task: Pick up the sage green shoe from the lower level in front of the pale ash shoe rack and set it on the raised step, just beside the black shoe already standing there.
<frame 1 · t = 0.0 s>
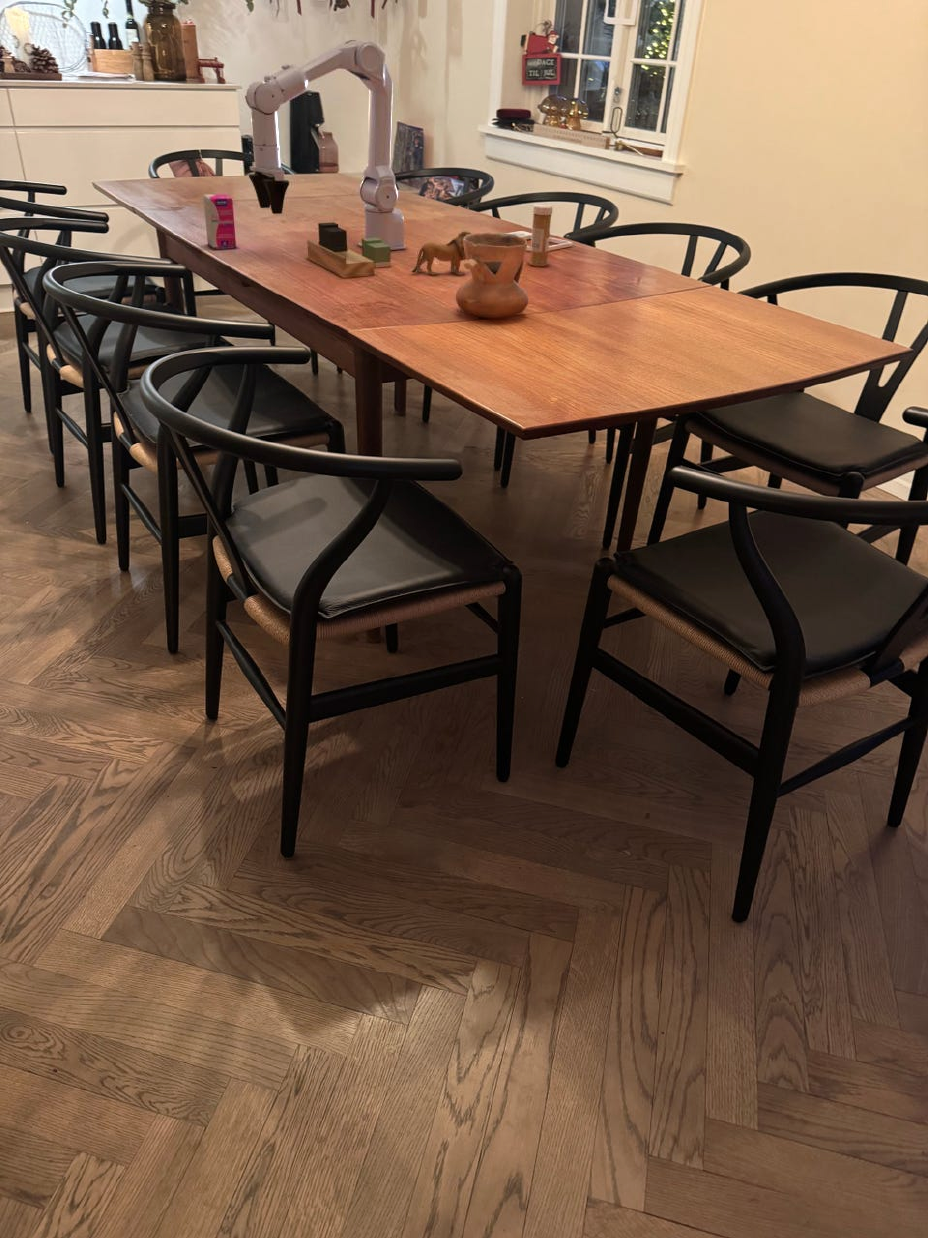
hand: (271, 210, 205), 10 cm above the table, tool pointing down, fingers open, 7 cm apart
black shoe: (333, 248, 207), point 3 cm above the table, touching shoe rack
supplement box: (222, 247, 217), on the table
green shoe: (376, 263, 209), on the table
photo frame: (529, 243, 235), on the table
shoe rack: (340, 266, 205), on the table
ceramic jug: (492, 314, 178), on the table
sprinkles bottle: (538, 265, 216), on the table
lion figurine: (444, 273, 205), on the table
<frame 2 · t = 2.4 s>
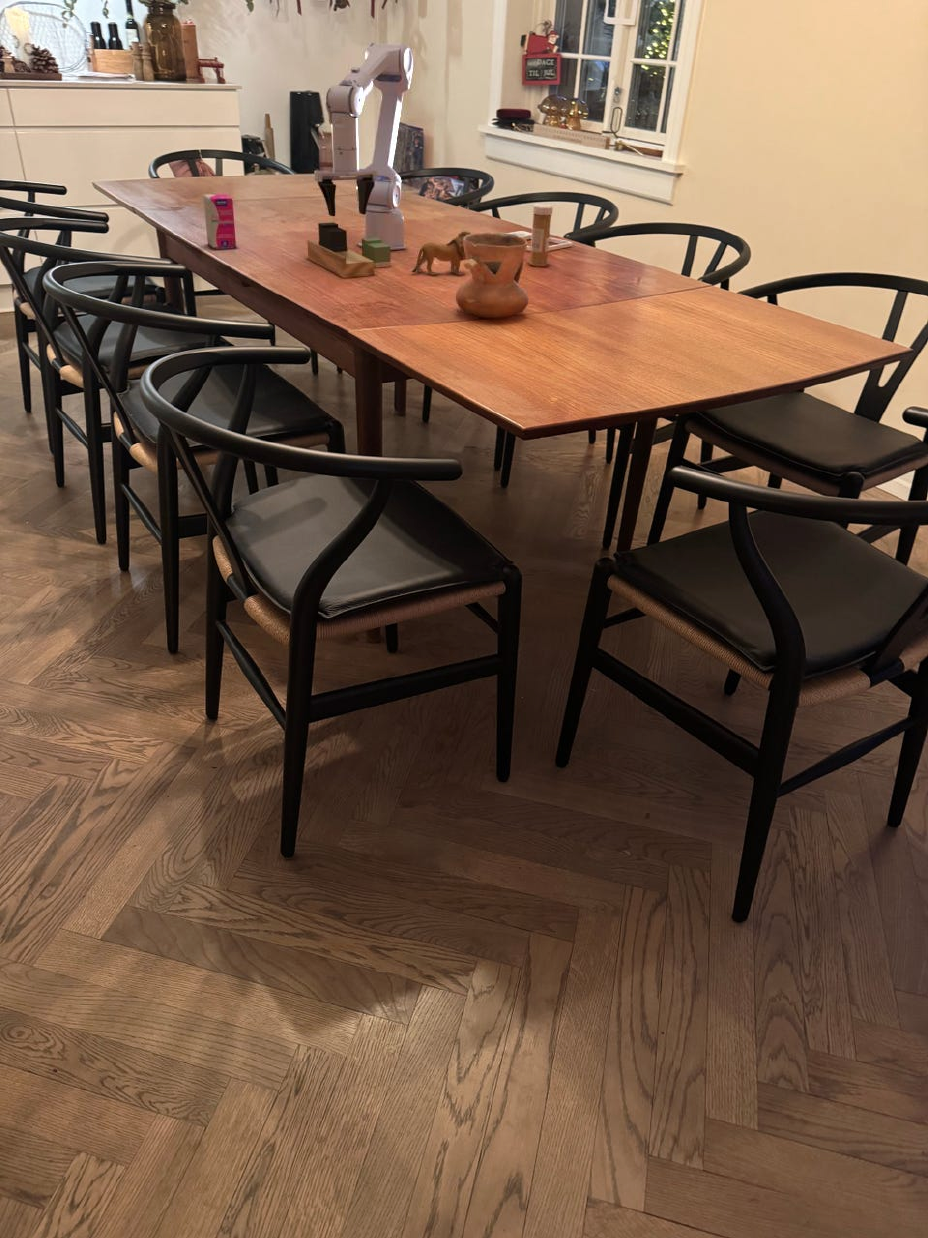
hand: (347, 214, 204), 10 cm above the table, tool pointing down, fingers open, 7 cm apart
nothing on the table moved.
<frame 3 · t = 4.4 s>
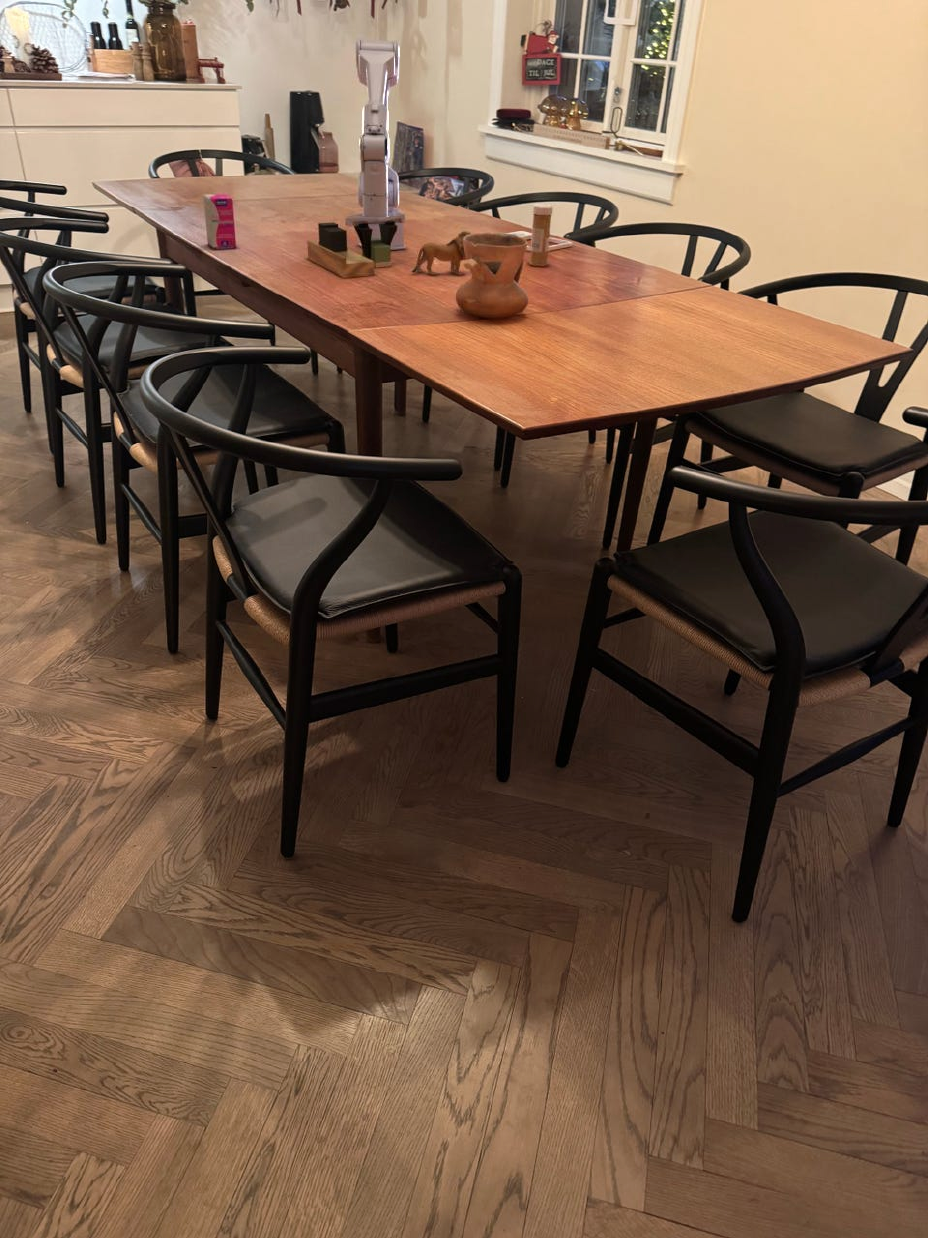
hand: (376, 257, 209), 1 cm above the table, tool pointing down, fingers closed on green shoe, 4 cm apart
green shoe: (376, 263, 209), on the table, touching gripper
everything else where it was.
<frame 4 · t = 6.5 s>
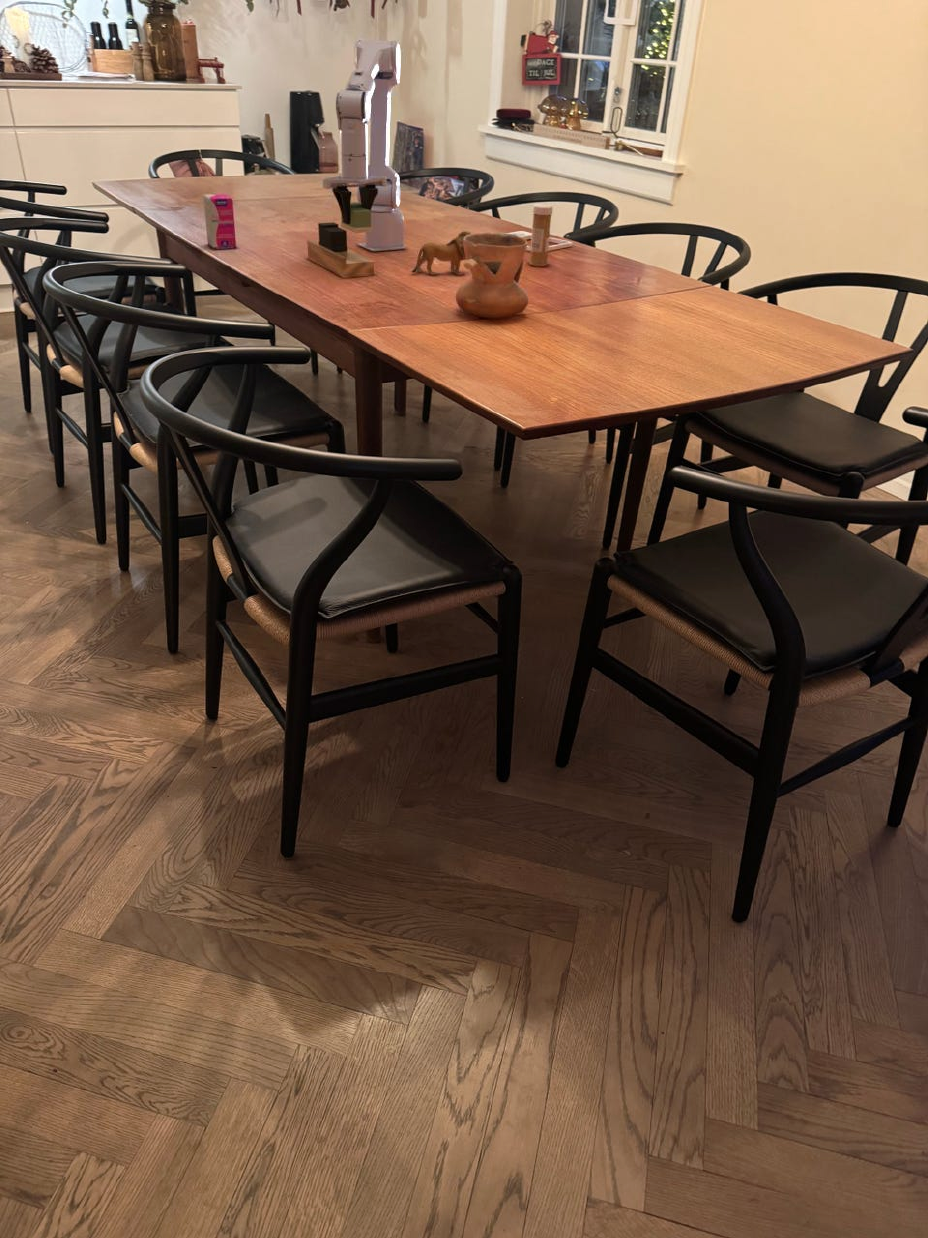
hand: (355, 222, 198), 10 cm above the table, tool pointing down, fingers closed on green shoe, 4 cm apart
green shoe: (356, 229, 199), point 9 cm above the table, touching gripper
everything else where it was.
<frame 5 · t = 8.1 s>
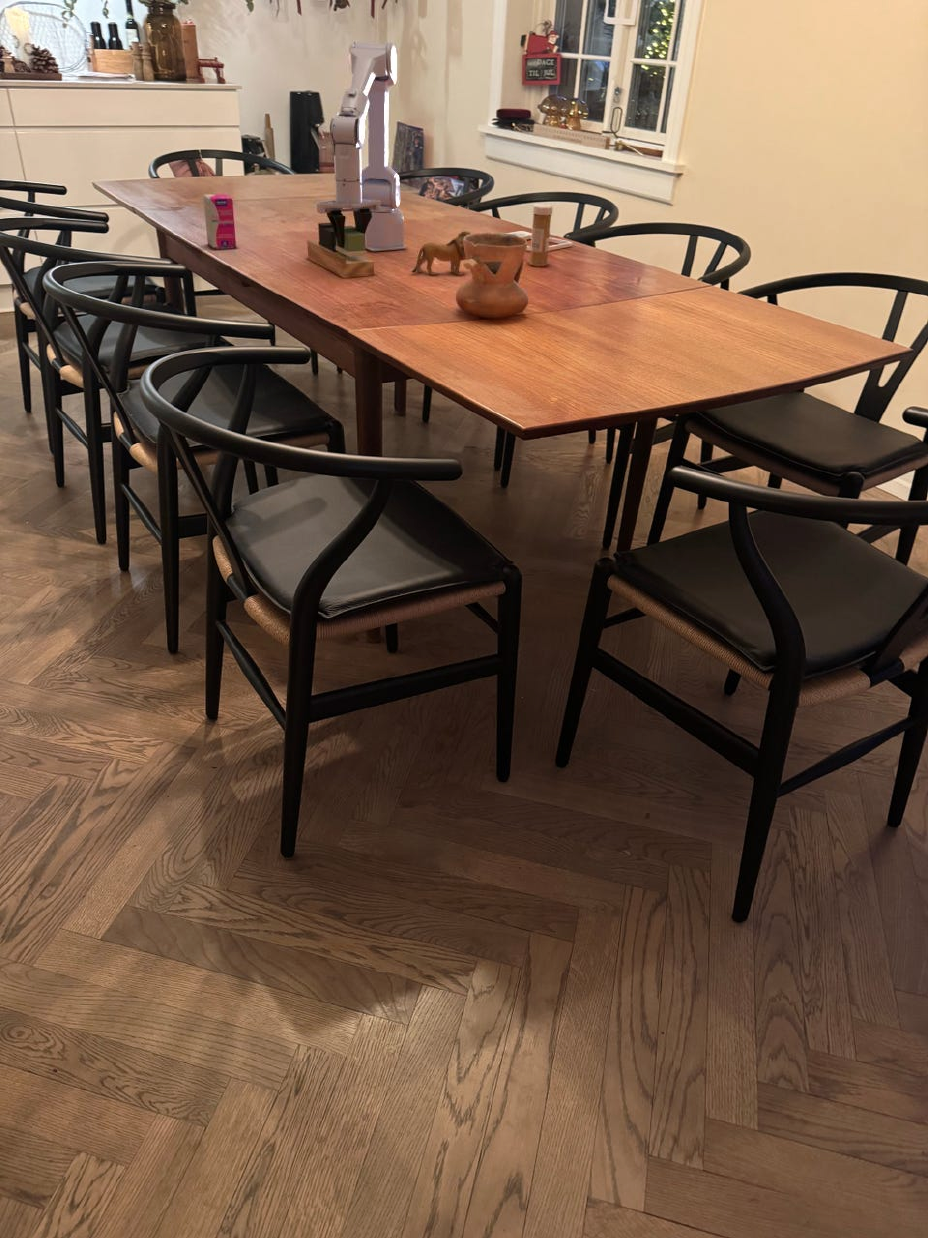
hand: (350, 246, 199), 5 cm above the table, tool pointing down, fingers closed on green shoe, 4 cm apart
green shoe: (350, 252, 200), point 4 cm above the table, touching gripper
everything else where it was.
when the fingers open (4 cm above the table, at t = 8.8 s): green shoe stays where it is, resting on shoe rack.
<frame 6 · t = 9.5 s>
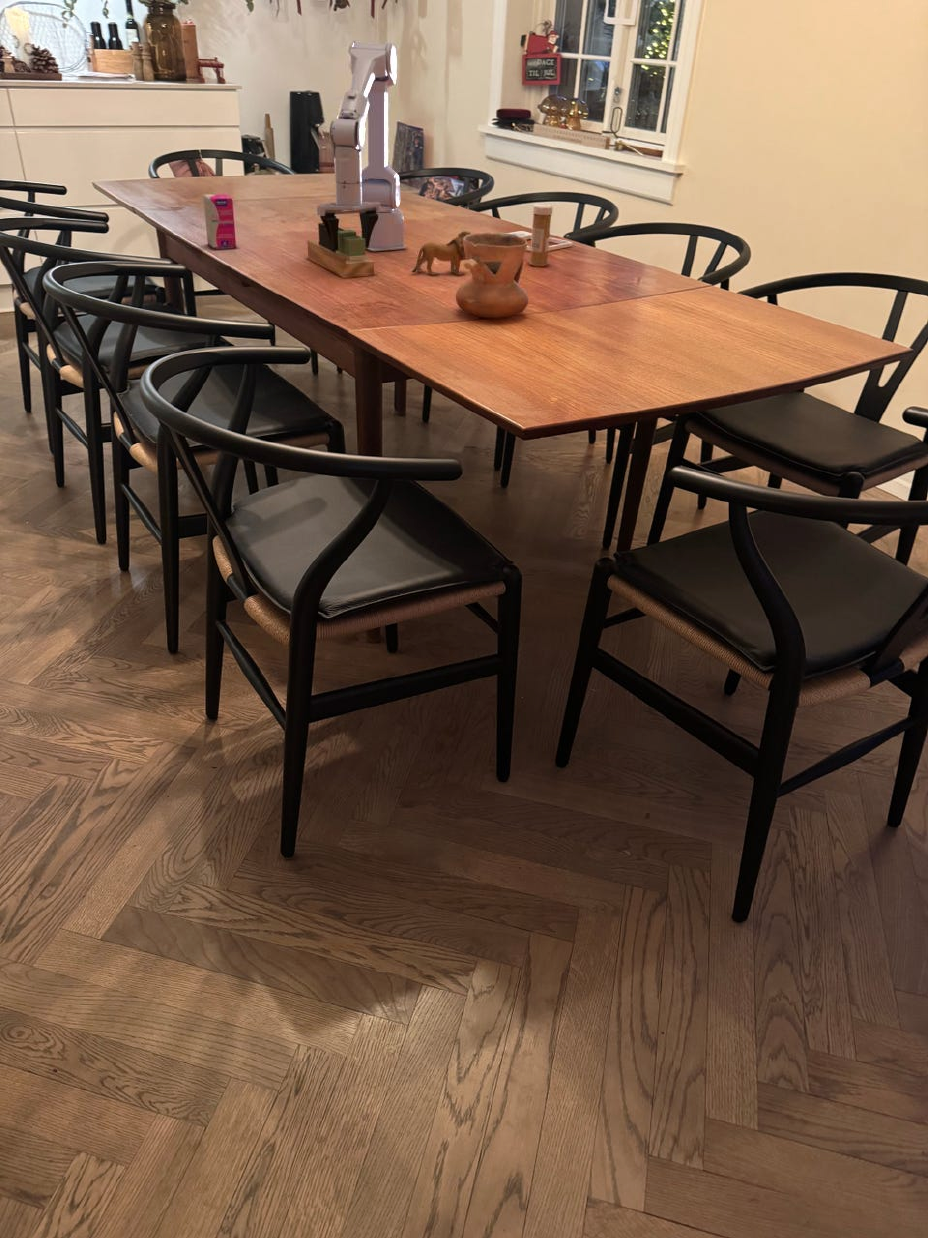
hand: (350, 248, 200), 5 cm above the table, tool pointing down, fingers open, 7 cm apart
green shoe: (350, 256, 201), point 3 cm above the table, touching shoe rack
everything else where it was.
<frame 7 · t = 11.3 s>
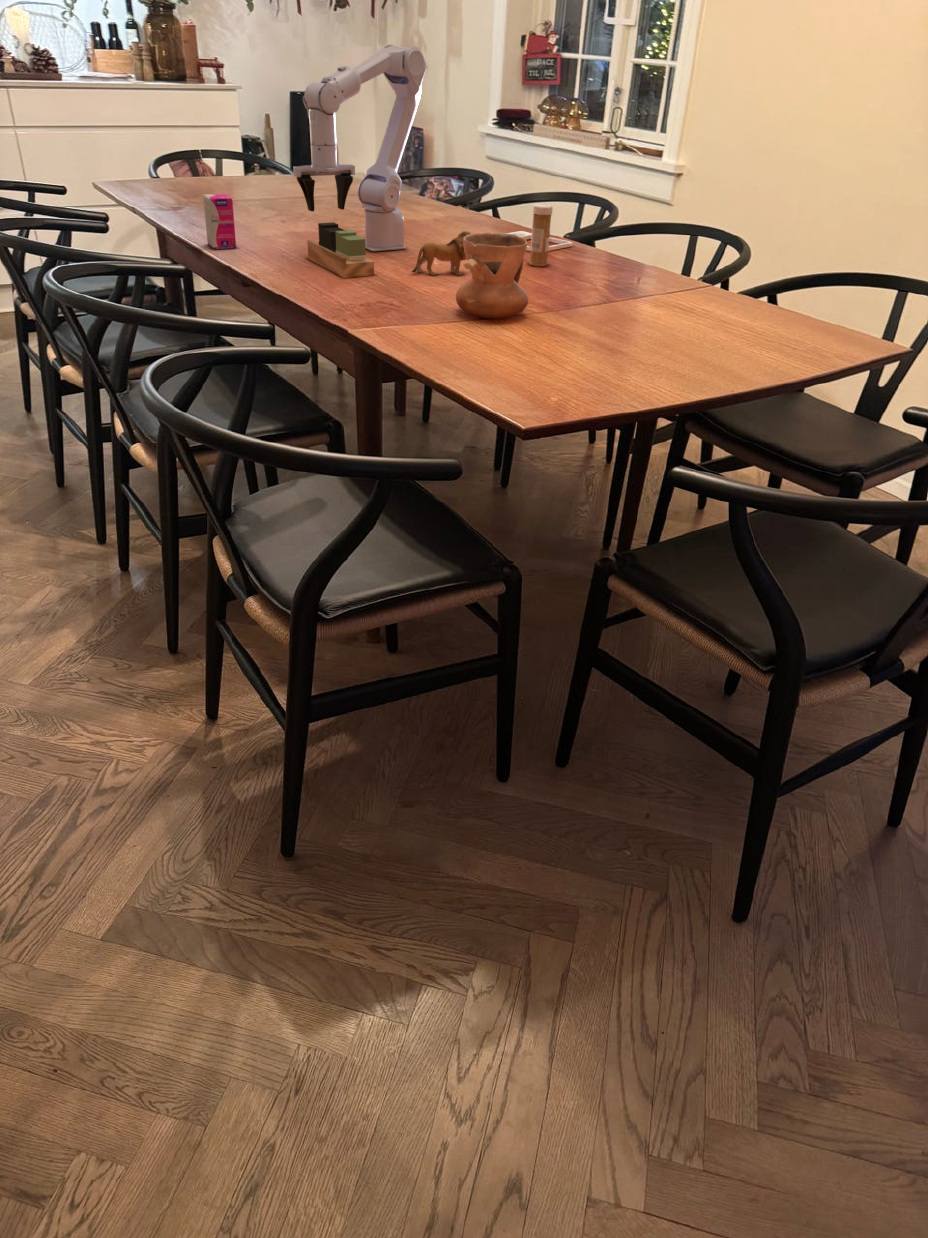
hand: (326, 209, 208), 10 cm above the table, tool pointing down, fingers open, 7 cm apart
nothing on the table moved.
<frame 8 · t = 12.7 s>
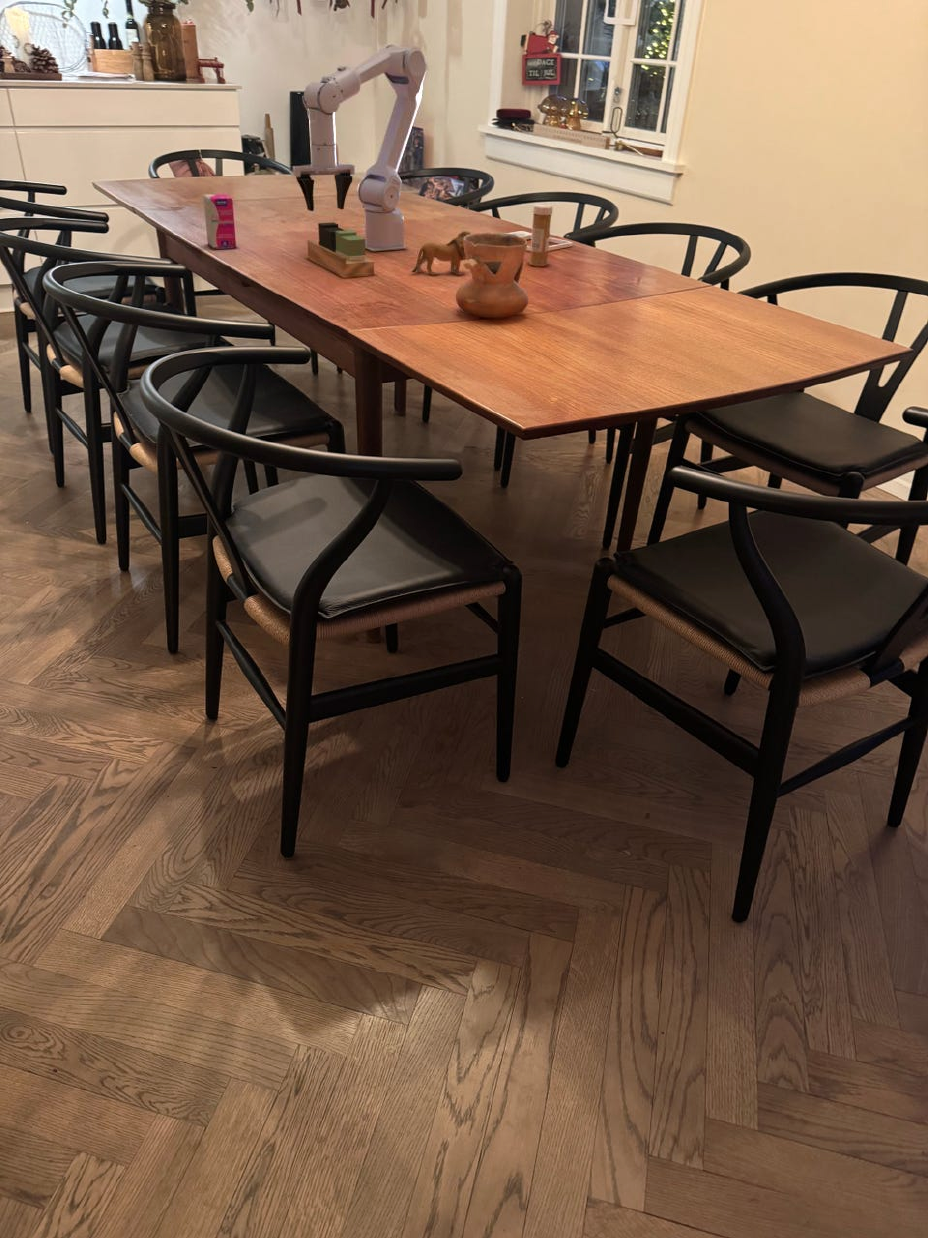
hand: (325, 209, 208), 10 cm above the table, tool pointing down, fingers open, 7 cm apart
nothing on the table moved.
at the end: green shoe inside the target area (0.8 cm from its centre), point 3.0 cm above the table; green shoe 0.4 cm from the target spot on the table beside the black shoe, resting on shoe rack; green shoe tilted 0° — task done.
